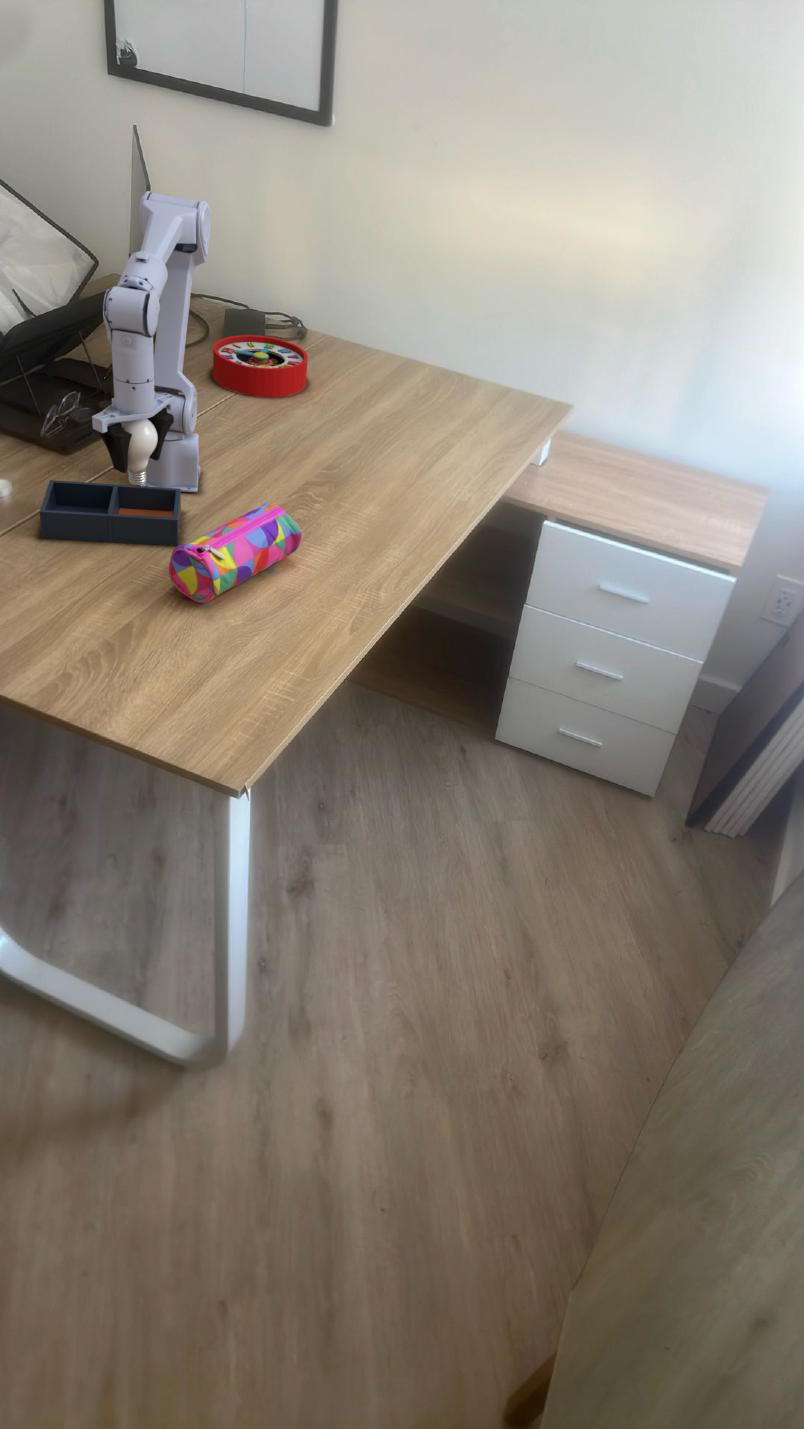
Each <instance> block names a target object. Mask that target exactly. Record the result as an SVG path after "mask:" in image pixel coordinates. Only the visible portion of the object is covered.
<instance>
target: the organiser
mask: <svg viewBox="0 0 804 1429" xmlns="http://www.w3.org/2000/svg"><path fill="white" fill-rule="evenodd" d="M181 497H182V493H181V489H178V488H162V487H147V486H136V485H133V484H132V485H130V484H118V483H117V484H114V483H102V482H88V481H87V482H86V481H85V482H84V481H70V480H57V479H55V480H54V479H49V482H48V484H47V488H46V491H45V493H44V497H43V499H42V502H41V503H42V504H41V506H40V509H39V518H40V520H39V521H40V529H41V537H42V539H50V540H51V539H53V540H70V541H87V542H88V541H89V542H107V543H124V544H125V543H126V544H142V545H143V544H144V545H161V546H176V547H178V546H179V537H180V528H181V527H180V526H181V518H182V517H181V516H182V500H181V499H182V498H181Z"/></svg>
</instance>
